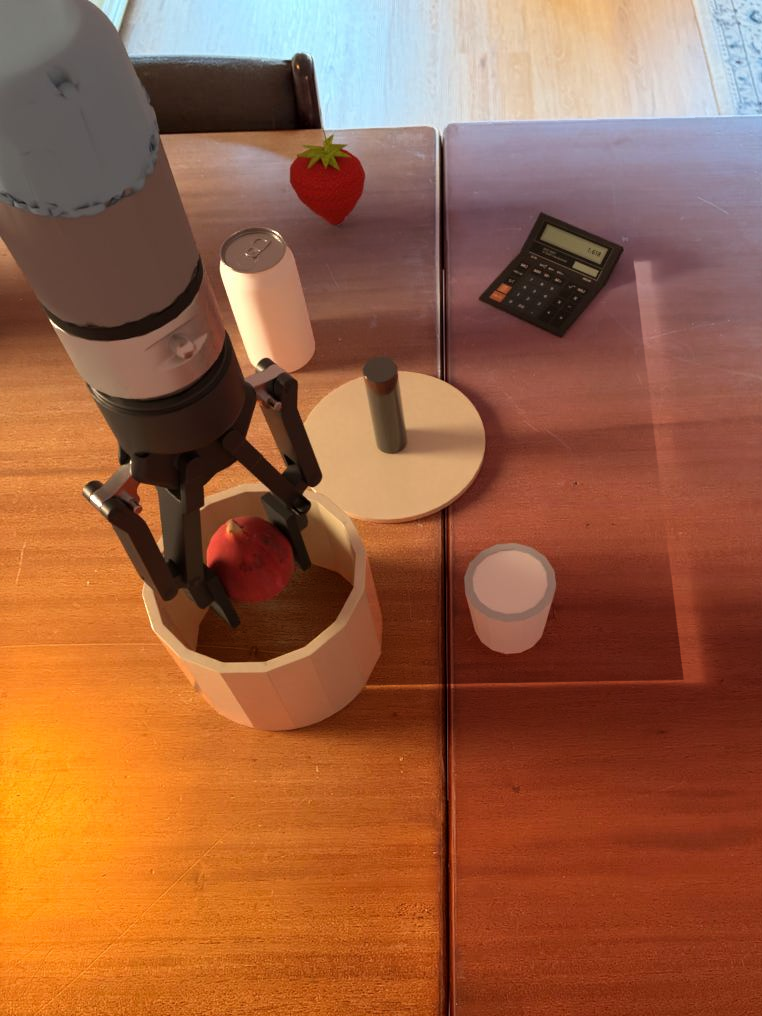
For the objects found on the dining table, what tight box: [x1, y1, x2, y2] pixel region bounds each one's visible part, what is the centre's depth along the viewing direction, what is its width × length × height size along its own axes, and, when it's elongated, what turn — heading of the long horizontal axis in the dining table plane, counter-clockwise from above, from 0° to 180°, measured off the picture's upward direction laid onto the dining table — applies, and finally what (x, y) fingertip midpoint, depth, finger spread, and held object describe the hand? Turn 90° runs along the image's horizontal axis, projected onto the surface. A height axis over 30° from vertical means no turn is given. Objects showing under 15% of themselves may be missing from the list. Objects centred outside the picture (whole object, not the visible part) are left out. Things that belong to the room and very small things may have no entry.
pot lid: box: [303, 356, 487, 524], centre depth 79 cm, size 17×17×10 cm
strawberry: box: [289, 126, 366, 226], centre depth 93 cm, size 6×8×10 cm
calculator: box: [478, 211, 625, 339], centre depth 91 cm, size 9×12×3 cm
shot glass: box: [463, 542, 557, 655], centre depth 72 cm, size 7×7×7 cm
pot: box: [141, 482, 384, 732], centre depth 70 cm, size 16×16×10 cm
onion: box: [207, 516, 296, 604], centre depth 64 cm, size 6×6×8 cm
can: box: [219, 225, 316, 374], centre depth 84 cm, size 6×6×12 cm
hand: (261, 585), depth 67 cm, fingers closed on onion, 6 cm apart
